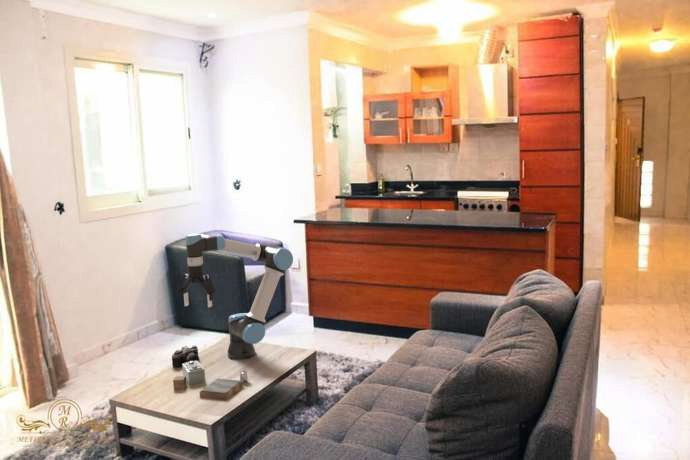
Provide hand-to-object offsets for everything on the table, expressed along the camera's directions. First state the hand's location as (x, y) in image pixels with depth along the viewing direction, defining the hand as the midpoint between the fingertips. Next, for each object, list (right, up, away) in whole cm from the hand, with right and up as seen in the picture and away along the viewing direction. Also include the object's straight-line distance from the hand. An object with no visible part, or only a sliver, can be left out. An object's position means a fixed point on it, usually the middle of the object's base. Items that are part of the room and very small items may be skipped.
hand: (198, 306), depth 290 cm
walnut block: (-6, -39, -10) cm, 40 cm away
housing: (-2, -37, 0) cm, 37 cm away
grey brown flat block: (+15, -39, -17) cm, 45 cm away
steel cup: (+24, -37, -6) cm, 45 cm away
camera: (-10, -35, +21) cm, 42 cm away
